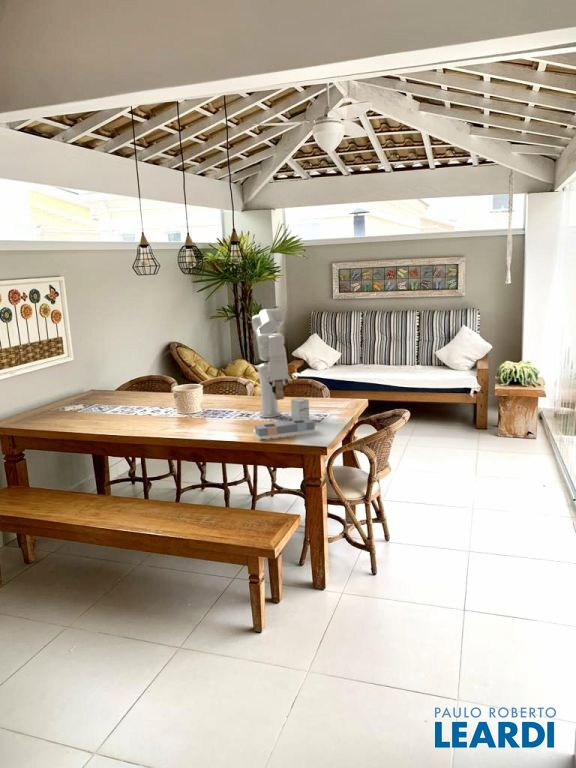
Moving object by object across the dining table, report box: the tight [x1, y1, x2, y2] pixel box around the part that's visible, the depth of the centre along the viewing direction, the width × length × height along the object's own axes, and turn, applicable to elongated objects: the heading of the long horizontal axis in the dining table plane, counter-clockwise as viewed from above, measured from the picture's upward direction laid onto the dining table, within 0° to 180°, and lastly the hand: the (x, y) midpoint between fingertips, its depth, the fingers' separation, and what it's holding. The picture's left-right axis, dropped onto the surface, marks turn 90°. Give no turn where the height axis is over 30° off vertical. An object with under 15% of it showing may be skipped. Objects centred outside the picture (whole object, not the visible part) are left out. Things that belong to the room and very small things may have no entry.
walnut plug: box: [274, 380, 285, 401], centre depth 315 cm, size 4×4×10 cm
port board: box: [252, 418, 316, 441], centre depth 315 cm, size 14×30×6 cm, turn 107°
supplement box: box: [290, 397, 310, 421], centre depth 337 cm, size 7×7×13 cm
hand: (278, 392), depth 315 cm, fingers closed on walnut plug, 4 cm apart
